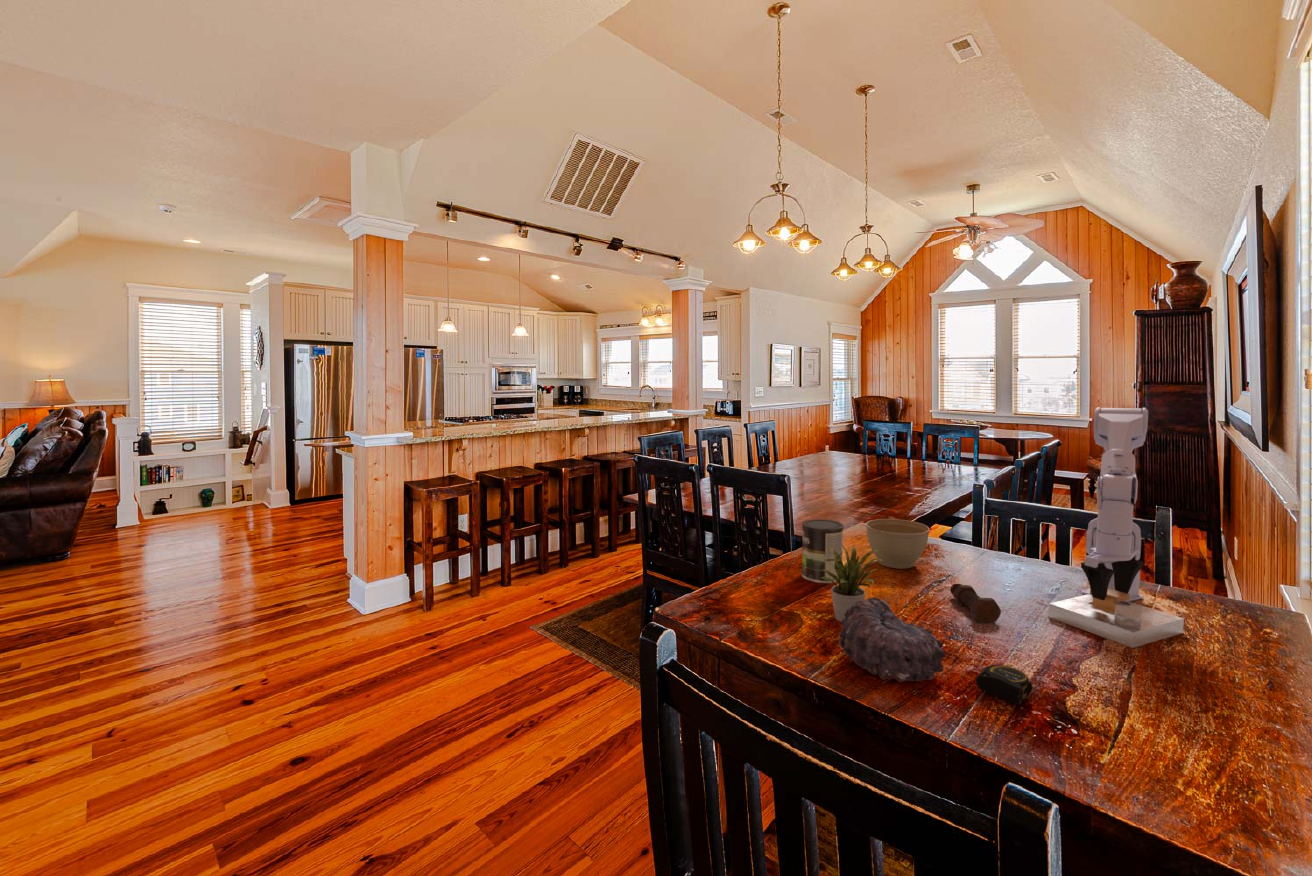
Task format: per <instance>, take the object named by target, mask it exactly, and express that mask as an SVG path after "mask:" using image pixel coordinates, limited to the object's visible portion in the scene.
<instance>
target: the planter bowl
mask: <svg viewBox="0 0 1312 876" xmlns="http://www.w3.org/2000/svg"><path fill="white" fill-rule="evenodd" d="M865 527H866V537H867V541H868V545H869V547H870V549H871V551H873V550H879V549H881V550H879V551H875V552H874V553H873V554H874V556H875V557H876V558H881V560H885V561H881V560H876V561H877V563H878V564H879V565H881V566H883V567H887V568H890V569H891V568H892V569H902V570H903V569H904V570H907V569H911V567H912V568H914V567H915V566H914V565H916V562H917V561H918V560H919V559H920V558H921V557H922V555H923V553H924V552H925V550H926V547H927V544H928V539H929V534H930V528H929V526H928V525H925V524H924V523H920V522H917V521H914V520H913V521H911V520H906V519H897V518H881V519H880V518H877V519H872V520H867V522H866V523H865ZM913 566H914V567H913Z"/></svg>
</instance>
